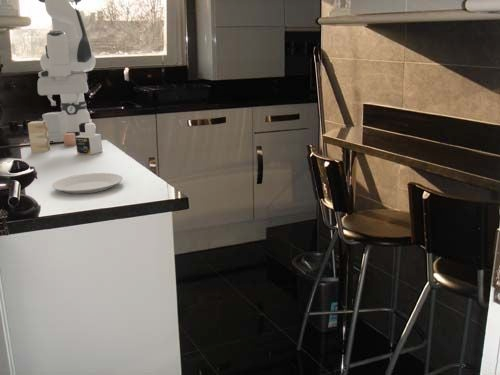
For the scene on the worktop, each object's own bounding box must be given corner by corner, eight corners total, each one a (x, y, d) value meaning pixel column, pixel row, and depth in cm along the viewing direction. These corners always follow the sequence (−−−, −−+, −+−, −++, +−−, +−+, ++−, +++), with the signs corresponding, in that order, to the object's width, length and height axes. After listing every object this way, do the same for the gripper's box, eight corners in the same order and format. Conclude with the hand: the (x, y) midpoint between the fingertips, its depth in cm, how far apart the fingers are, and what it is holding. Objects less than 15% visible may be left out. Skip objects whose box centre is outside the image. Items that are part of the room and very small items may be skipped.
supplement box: (68, 139, 268) (64, 111, 265) (61, 142, 261) (57, 113, 258) (52, 139, 269) (48, 112, 266) (45, 142, 262) (41, 114, 259)
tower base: (35, 150, 246) (34, 140, 245) (50, 149, 246) (48, 139, 245) (31, 152, 240) (30, 143, 239) (46, 152, 240) (45, 142, 239)
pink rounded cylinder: (65, 144, 254) (64, 133, 253) (77, 144, 255) (76, 132, 253) (63, 146, 250) (61, 135, 248) (75, 146, 250) (73, 134, 249)
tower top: (32, 131, 244) (31, 121, 242) (47, 130, 244) (46, 120, 243) (28, 133, 238) (27, 123, 237) (44, 132, 238) (42, 122, 237)
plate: (67, 202, 165) (66, 194, 165) (43, 188, 182) (42, 181, 181) (134, 188, 177) (134, 181, 176) (107, 176, 193) (106, 169, 193)
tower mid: (34, 140, 245) (32, 131, 244) (48, 139, 245) (47, 130, 244) (30, 143, 239) (28, 133, 238) (45, 142, 239) (43, 132, 238)
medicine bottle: (76, 154, 232) (73, 124, 229) (89, 150, 238) (86, 121, 235) (90, 155, 229) (87, 124, 226) (103, 151, 235) (99, 121, 232)
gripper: (87, 69, 248) (91, 102, 251) (38, 72, 247) (42, 105, 250) (84, 70, 242) (88, 104, 245) (34, 73, 241) (38, 107, 244)
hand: (65, 105), depth 248 cm, fingers open, 8 cm apart
